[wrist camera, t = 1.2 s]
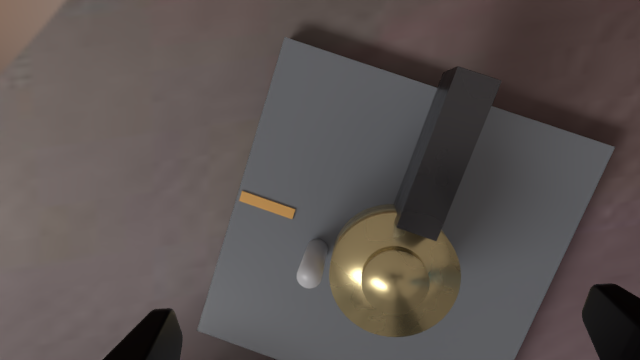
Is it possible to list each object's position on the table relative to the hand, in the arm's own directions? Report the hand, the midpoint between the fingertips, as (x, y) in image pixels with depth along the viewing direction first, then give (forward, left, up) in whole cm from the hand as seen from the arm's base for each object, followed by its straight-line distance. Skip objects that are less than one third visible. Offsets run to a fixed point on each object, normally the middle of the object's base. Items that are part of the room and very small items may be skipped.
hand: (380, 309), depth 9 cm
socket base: (-2, +3, -15) cm, 16 cm away
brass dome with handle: (-2, 0, -12) cm, 12 cm away
